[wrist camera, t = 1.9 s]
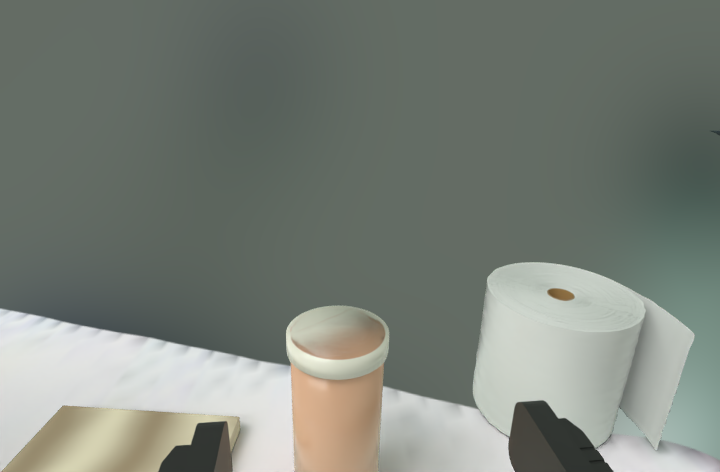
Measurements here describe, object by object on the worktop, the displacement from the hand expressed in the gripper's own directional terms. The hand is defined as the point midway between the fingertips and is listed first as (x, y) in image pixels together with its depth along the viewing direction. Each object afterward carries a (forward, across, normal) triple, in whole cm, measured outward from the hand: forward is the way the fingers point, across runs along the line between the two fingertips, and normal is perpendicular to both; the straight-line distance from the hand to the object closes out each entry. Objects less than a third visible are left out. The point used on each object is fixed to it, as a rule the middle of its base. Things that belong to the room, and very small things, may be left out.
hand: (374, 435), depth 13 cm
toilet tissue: (+18, -17, +16) cm, 30 cm away
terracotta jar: (+11, 0, +16) cm, 19 cm away
